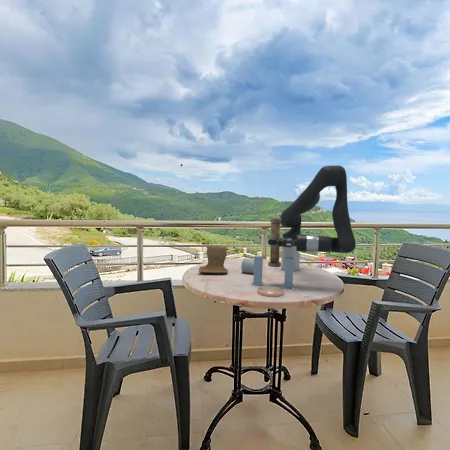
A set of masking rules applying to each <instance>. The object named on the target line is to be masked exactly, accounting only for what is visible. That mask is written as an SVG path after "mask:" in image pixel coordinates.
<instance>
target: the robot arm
mask: <svg viewBox="0 0 450 450" xmlns="http://www.w3.org/2000/svg"><path fill="white" fill-rule="evenodd" d="M347 179H348V177H347V172H346V169H345V168H344V167H343V166H342V165H325V166H323V167H321V168H320V169H319V170H318V172H317V173H316V175H315V176H314V178H313V179H312V181H311V182H310V183H309V185H308V186H307V187H306V188H305V189H304V190H303V191H302V192H301V193H300V194H299V195H298V197H297V198H296V199H295V200H294V201H293V202H292V203H291V204H290V205H289V206H288V207H286V209H284V210H283V211H282V212H281V214H280V216H279V218H281V223H280V226H282V227H284V228H290V229H289V230H288V231H286V232H284V233H283V234H282V238H281V237H280V240H271V238H269V239H268V240H267V241H268V242H267V244H268V246H271V245H277V246H279V248H280V247H281V268H280V269H281V270H282V271H285V258H286V257H291V258H294V260H293V272H295V271H299V270H300V262H301V261H300V260H301V259H300V258H301V253H300V252H302V253H303V252H304V253H305V252H306V253H316V252H317V253H321V252H322V253H329V252H330V253H339V254H349V253H352V252H354V251H355V249H356V246H357V245H356V243H357V242H356V238H355V235H354V232H353V229H352V223H351V219H350V212H349V205H348V180H347ZM328 187H334V188H335V192H336V194H335V195H336V197H335V200H334V204H333V207H332V211H331V213H332V214H331V215H332V222H333V227H334V230H335V233H336V237H331V236H327V235H313V234H301V231H302V230H301V229H302V214H305V213H307V212H309V211H312V209H313V208H315V206H317V205H318V204H319V202H320V199H321V194H320V193H321V192H323V190H324V189H326V188H328Z"/></svg>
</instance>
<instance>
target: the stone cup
mask: <svg viewBox="0 0 450 450" xmlns="http://www.w3.org/2000/svg"><path fill="white" fill-rule="evenodd" d="M227 251H228V249H227V247H226V246H224V245H223V246H222V245H215V244H209V245H208V246H207V249H206V256H207V264H206V265H204V266H203V265H202V266H200V267H199V268H198V273H199V274H215V275H216V274H217V275H218V274H226V273H228V272H229V270H228V269H227V268H225V265H224V264H225V261H226V258H227V254H228V252H227Z"/></svg>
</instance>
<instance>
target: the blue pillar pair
mask: <svg viewBox="0 0 450 450" xmlns="http://www.w3.org/2000/svg"><path fill="white" fill-rule="evenodd" d="M263 256H264V255H254V257H253V260H254V274H253V280H252V282H251V285H252V286H259V287H260V286H261V287H264V283H265V282H264V281H263V262H264V261H263V259H264V257H263ZM293 260H294V258H291V257H286V258H285V270H284V283H282V288H285V289H295V284H294V283H293V280H294V271H293Z"/></svg>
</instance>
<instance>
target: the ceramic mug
mask: <svg viewBox="0 0 450 450" xmlns="http://www.w3.org/2000/svg"><path fill="white" fill-rule="evenodd" d="M240 268H241V272H242V273H245V274H253V275H254V259H251V258H247V257H245V258H243V259H242V261H241V267H240Z"/></svg>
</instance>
